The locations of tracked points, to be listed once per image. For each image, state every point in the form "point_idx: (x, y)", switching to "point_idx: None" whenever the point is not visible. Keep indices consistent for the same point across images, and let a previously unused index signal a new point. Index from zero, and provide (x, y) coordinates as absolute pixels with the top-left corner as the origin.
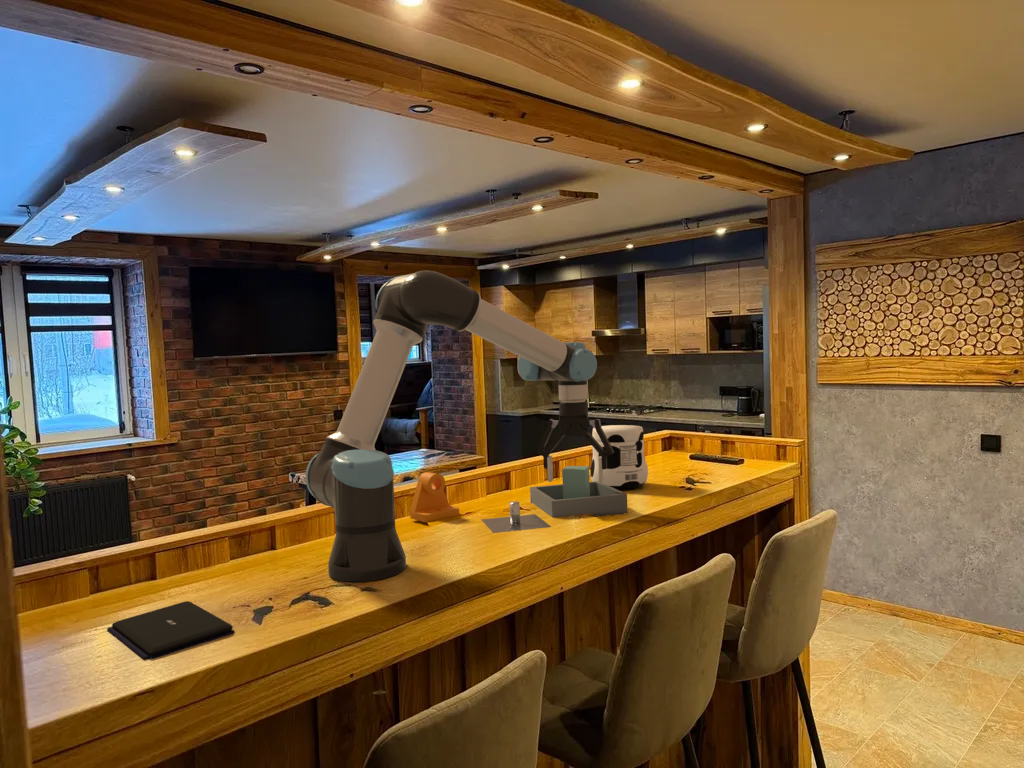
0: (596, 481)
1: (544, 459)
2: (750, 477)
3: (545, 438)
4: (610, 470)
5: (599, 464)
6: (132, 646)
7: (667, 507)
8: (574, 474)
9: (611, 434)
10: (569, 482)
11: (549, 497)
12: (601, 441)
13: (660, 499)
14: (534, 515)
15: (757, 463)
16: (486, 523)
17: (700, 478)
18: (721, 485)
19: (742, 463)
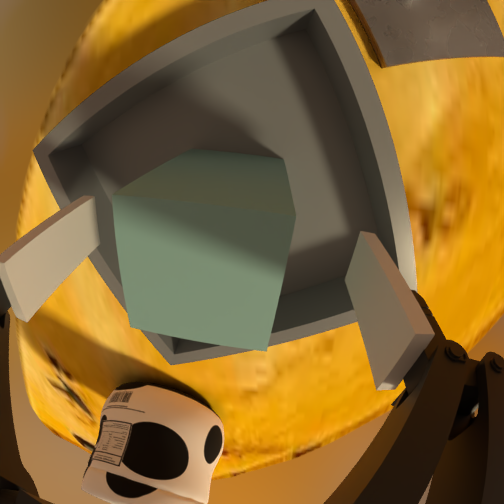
0: (175, 362)
1: (437, 334)
2: (30, 387)
3: (496, 487)
4: (159, 420)
5: (29, 240)
6: None
7: (20, 220)
8: (199, 189)
9: (133, 500)
10: (246, 179)
11: (349, 62)
12: (169, 493)
13: (54, 297)
14: (386, 47)
15: (61, 429)
16: (488, 8)
17: (73, 405)
18: (31, 365)
19: (73, 435)
